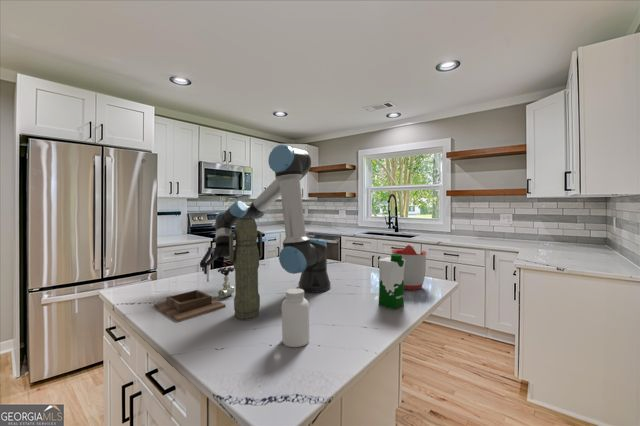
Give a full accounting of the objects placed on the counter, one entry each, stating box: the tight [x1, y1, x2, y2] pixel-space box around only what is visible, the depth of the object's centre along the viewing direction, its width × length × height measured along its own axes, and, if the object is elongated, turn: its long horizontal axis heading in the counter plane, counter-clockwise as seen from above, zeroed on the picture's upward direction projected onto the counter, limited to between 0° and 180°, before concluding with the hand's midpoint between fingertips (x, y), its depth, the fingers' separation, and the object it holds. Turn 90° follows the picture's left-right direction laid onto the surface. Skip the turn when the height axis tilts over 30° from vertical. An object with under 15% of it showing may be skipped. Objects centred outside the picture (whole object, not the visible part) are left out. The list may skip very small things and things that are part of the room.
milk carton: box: [377, 253, 405, 310], centre depth 114 cm, size 9×9×20 cm
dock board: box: [153, 289, 226, 323], centre depth 113 cm, size 22×18×4 cm
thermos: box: [228, 218, 263, 321], centre depth 104 cm, size 9×12×35 cm
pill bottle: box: [281, 287, 310, 348], centre depth 85 cm, size 8×8×15 cm
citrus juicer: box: [391, 244, 427, 291], centre depth 138 cm, size 16×17×20 cm
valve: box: [217, 266, 235, 299], centre depth 125 cm, size 7×7×12 cm
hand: (224, 278), depth 126 cm, fingers open, 13 cm apart
